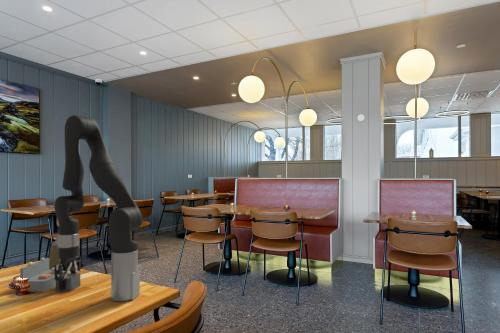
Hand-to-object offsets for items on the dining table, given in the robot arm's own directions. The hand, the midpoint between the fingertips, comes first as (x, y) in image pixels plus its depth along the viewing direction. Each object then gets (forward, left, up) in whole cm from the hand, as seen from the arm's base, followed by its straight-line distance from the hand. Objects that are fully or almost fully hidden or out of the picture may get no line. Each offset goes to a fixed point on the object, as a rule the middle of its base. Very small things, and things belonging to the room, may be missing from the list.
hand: (68, 286), depth 126 cm
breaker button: (+10, 0, 0) cm, 10 cm away
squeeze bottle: (+18, -20, -1) cm, 27 cm away
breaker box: (+12, -3, -1) cm, 12 cm away
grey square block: (0, 0, -1) cm, 1 cm away
